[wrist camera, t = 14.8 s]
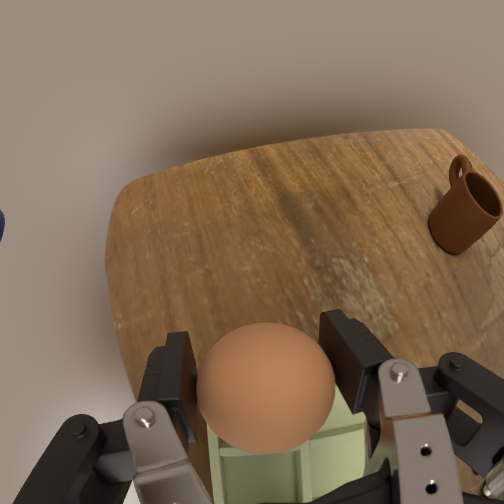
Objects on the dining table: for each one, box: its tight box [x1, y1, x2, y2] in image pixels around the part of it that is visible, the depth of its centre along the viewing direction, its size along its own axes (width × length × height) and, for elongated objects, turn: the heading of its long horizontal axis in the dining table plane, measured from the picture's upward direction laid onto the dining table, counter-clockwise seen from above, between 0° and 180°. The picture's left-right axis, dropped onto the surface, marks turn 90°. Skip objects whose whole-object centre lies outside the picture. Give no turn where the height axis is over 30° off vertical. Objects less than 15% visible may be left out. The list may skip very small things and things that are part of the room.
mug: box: [429, 155, 503, 254], centre depth 30 cm, size 12×8×9 cm, turn 173°
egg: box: [196, 323, 335, 454], centre depth 10 cm, size 5×5×8 cm
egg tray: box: [207, 384, 366, 504], centre depth 20 cm, size 15×15×4 cm
